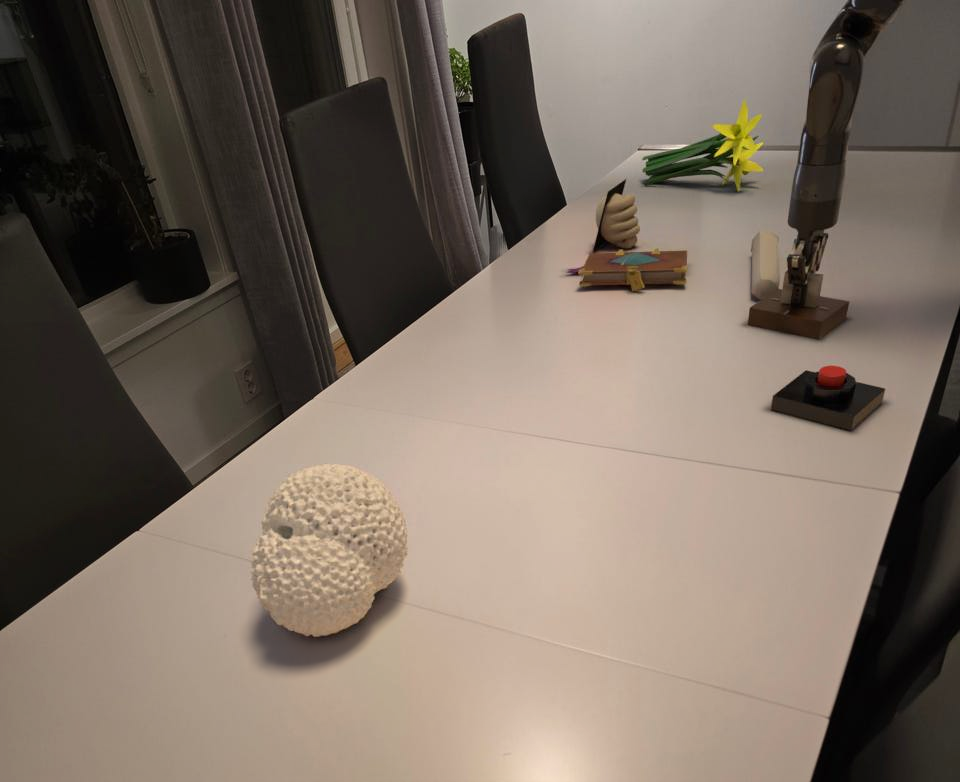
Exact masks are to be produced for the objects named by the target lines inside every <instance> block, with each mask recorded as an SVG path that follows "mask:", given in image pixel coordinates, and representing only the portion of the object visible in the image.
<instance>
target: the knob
mask: <svg viewBox="0 0 960 782" xmlns="http://www.w3.org/2000/svg"><path fill="white" fill-rule="evenodd" d="M797 277H800V276H797ZM823 281H824V274H823V273H817V272H815V273H810V276H809V283H808V286H807V293H806V299H805V305H804V306H805V307H812V308H815V307H817V306H818V305H819V299H820V296H821V294H822V293H821V292H822V287H823ZM781 288H782V296H781V303H784V304H790V303H791V296H792V289H793V284H789V283H788V269H787V270H786V271H785V272H784V275H783V282H782V287H781Z"/></svg>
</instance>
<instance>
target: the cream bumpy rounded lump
mask: <svg viewBox="0 0 960 782" xmlns="http://www.w3.org/2000/svg"><path fill="white" fill-rule="evenodd" d="M267 504H268V505H267V507H266V508H265V509H264V513H263V515H262V519H261V525H262V526H261V529H262V532H261V533H262V535H261V536H259V539H257V540H256V541H255V545H256V546H254V547H253V549H252V550H251V554H252V559H250V563H251V569H250V574H251V579H250V580H251V581H252V588H253V590H254V591H255V592H256V595H257V598H258V599H259V603H260V604H261V605H263V609H264V610H266V611H269V616H270V617H271V619H272V620H273V621H275V623H276V624H277V625H278V626H283V627H284V628H285V629H287V630H288V631H291V632H293V631H294V633H297V634H302V635H304V636H305V637H309V636H313V637H314V638H316V637H321V636H324V637H326V636H329V635H332V634H337V633H339V632H340V631H343V630H346V629H348V628H350V627H351V626H353V625H355V624H358V623H359V621H360V620H361V619H363V618H365V615H366V614H367V613H368V611H370V609H371V608H372V606H373V602H374V600H375V594H376V593H377V592H379V591H381V590H384V589H387V588H388V586H389V585H390V584H392V583H393V581H395V580H396V579H397V576H399V574H400V573H401V569H402V568H404V561H405V558H406V557H407V556H408V555H409V550H408V549H409V548H408V546H407V544H408V528H407V527H406V526H407V524H406V518H405V517H404V514H403V511H402V509H401V508H400V504H399V502H398V501H397V500H396V498H395V497H394V495H393V494H392V492H391V491H390V490H389V489H388V488H387V487H386V485H384V484H383V482H382V481H380V480H379V479H377V478H376V477H375V476H373V475H372V474H371V473H368V472H366V471H364V470H362V469H360V468H356V467H355V466H351V465H349V464H347V465H345V464H338V463H334V464H329V463H324V464H323V465H322V466H321V465H319V464H317V465H313V466H308V467H307V468H302V469H300V470H299V471H296V472H295V473H293V474H290V475H287V478H286V479H285V480H283V481H282V484H280V485H278V488H277V489H275V491H274V493H273V495H272V496H270V497H269V501H268V503H267Z"/></svg>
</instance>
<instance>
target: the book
mask: <svg viewBox="0 0 960 782" xmlns="http://www.w3.org/2000/svg"><path fill="white" fill-rule="evenodd" d="M687 261H688V250H687V249H685V250H660V249H659V248H654V249H653V250H652V251H627V252H626V251H624V249H618V251H617V252H591V253H589V254H588V256H587V258H586V260H585V263H584V264H583V266H579V267H577V268H568V270H569V271H568V272H567V274H575V273H577V275H579V276H583V278H582V280H580V281H579V283H578V286H580V287H589V286H616V285H617V286H620V285H621V286H622V285H623V286H624V285H626V286H627V285H629V286H630V287H631V288H630V289H631V292H635V291H639V290H641V289H644V288H645V285H663V284H664V285H665V284H666V285H667V284H674V285H684V284H687V277H685V276H686V273H687V272H688V266H687Z"/></svg>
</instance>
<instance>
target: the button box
mask: <svg viewBox="0 0 960 782" xmlns="http://www.w3.org/2000/svg"><path fill="white" fill-rule="evenodd" d="M818 374H819V370H818V371H811V370H808V369H807V370H804V371H803V372H801V373H800V374H799V375H797V376H796V377H795V378H794V379H792V380H791V381H790V382H789V383H787V384H786V385H785V386H783V387H782V388H781V389H780V390H778V391H777V392H775V394H773V395H772V399H771V405H770V406H771V407H770V410H771V411H773V412H779V413H782V414H784V415H785V414H786V415H790V416H793V417H797V418H800V419H805V420H809V421H812V422H816V423H820V424H824V425H827V426H832V427H833V428H839V429H842V430H847V431H850V432H852V430H853V429H855V428H856V427H857V426H858V425H859V424H860V423H861V422H863V421H864V420H865V419H866V418H867V417H868V416H869V415H870V414H871V413H872V412H873V411H875V410H876V409H877V408H878V407H879V406H880V405H881V404H882V403H883V400H884V398H885V397H884V396H885V392H886V388H884V387H881V386H877V385H871V384H868V383H864V382H860V381H857V380H856V377H855V376H853V375H851V374H850V373H848V372H846V377H845V382H844V385H842V386H838V387H827V386H823V385H820V384H818V383H817V380H818Z"/></svg>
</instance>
